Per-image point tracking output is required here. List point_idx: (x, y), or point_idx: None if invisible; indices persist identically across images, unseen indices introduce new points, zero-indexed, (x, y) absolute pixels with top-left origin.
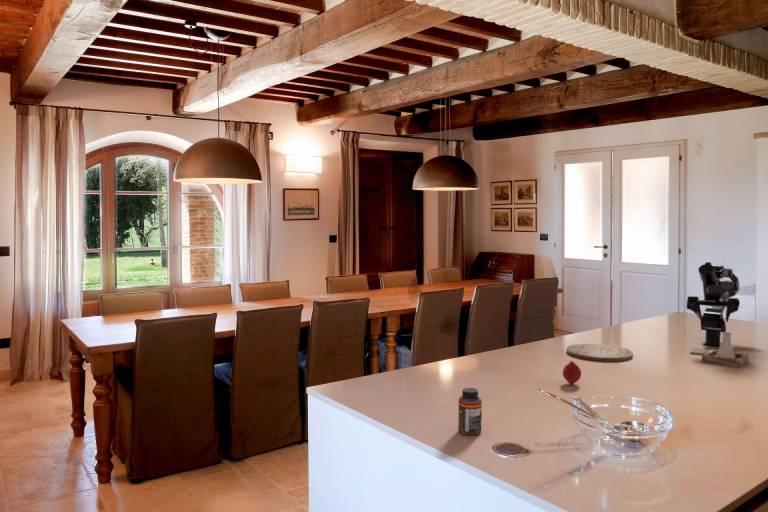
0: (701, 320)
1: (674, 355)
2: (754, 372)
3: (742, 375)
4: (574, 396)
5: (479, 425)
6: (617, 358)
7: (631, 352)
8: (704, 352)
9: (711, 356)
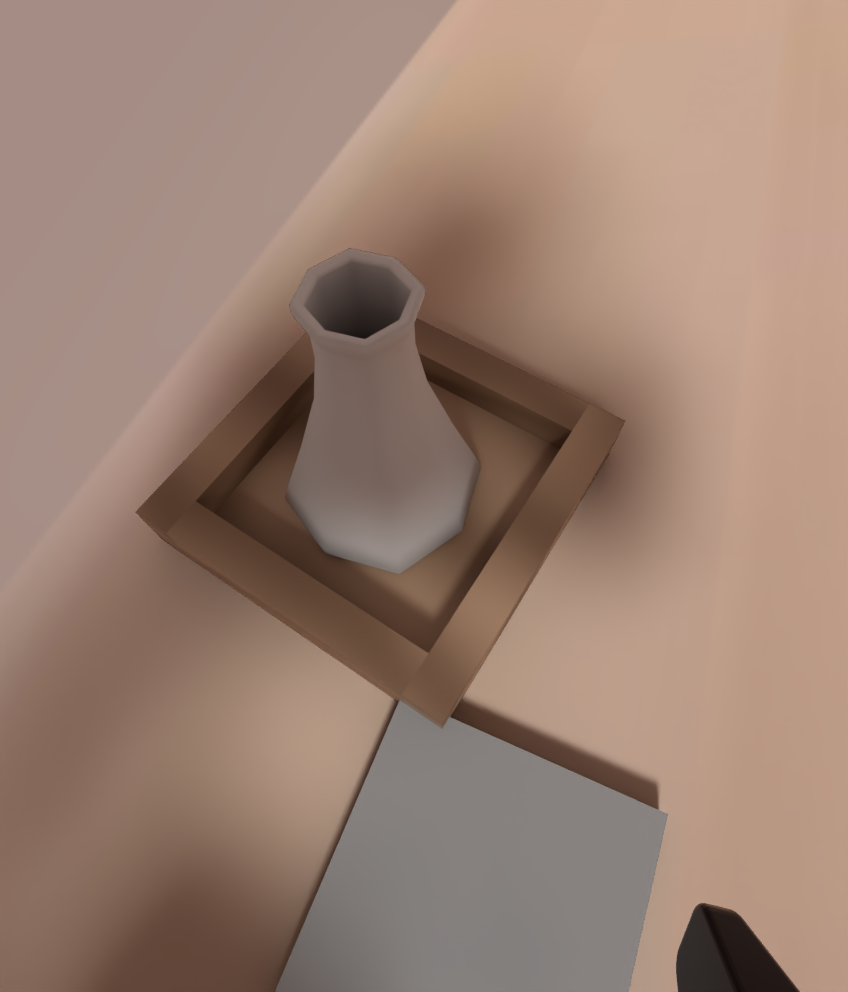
0: (683, 950)
1: (844, 690)
2: (323, 230)
3: (437, 168)
4: None
5: None
6: None
7: None
8: (494, 796)
9: (547, 389)
